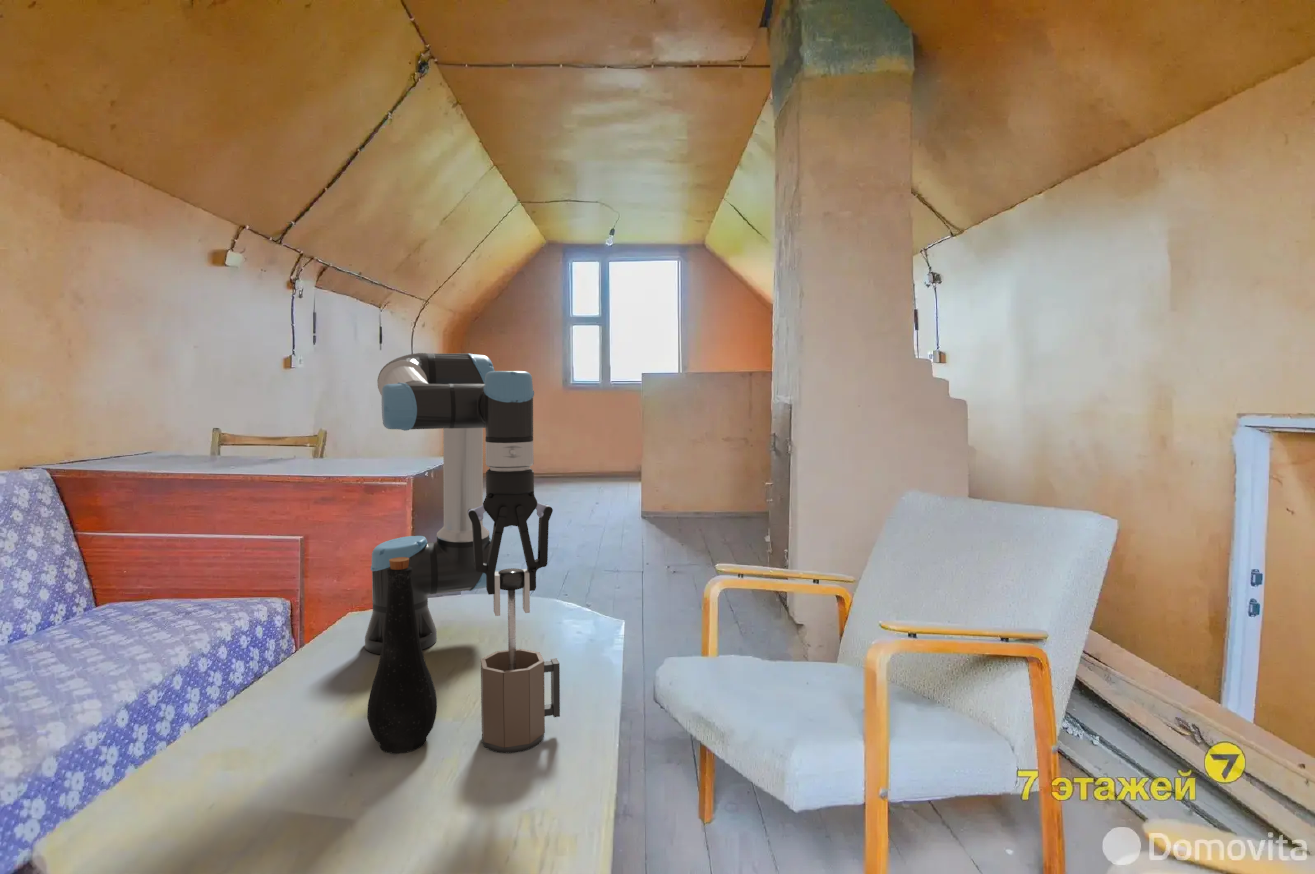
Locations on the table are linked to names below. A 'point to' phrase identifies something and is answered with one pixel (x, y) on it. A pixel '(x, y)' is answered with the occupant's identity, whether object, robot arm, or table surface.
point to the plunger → (511, 607)
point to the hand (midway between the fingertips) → (511, 611)
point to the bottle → (401, 672)
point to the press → (516, 700)
